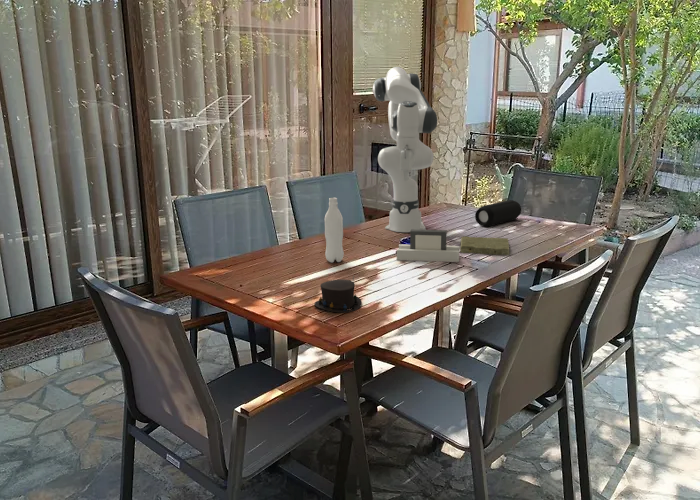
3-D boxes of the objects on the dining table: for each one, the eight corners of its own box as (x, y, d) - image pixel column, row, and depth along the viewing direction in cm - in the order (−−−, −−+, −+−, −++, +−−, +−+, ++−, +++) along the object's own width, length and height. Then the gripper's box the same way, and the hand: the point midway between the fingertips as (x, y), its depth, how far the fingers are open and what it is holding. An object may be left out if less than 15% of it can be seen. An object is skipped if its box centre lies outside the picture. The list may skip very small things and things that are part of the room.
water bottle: (335, 257, 250) (333, 195, 244) (347, 260, 245) (346, 198, 239) (321, 261, 246) (319, 198, 239) (334, 264, 241) (332, 200, 234)
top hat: (336, 318, 188) (335, 285, 185) (304, 305, 198) (303, 274, 195) (371, 305, 197) (371, 274, 195) (339, 294, 208) (339, 264, 205)
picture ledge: (399, 253, 254) (399, 244, 253) (459, 255, 249) (459, 246, 248) (396, 259, 245) (396, 250, 244) (458, 262, 241) (458, 252, 240)
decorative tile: (460, 243, 270) (460, 235, 269) (508, 244, 266) (508, 236, 265) (458, 254, 253) (459, 246, 252) (509, 256, 249) (510, 248, 248)
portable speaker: (505, 217, 316) (506, 198, 313) (522, 220, 308) (523, 200, 306) (473, 225, 300) (473, 205, 297) (489, 229, 292) (490, 208, 290)
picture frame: (410, 253, 250) (411, 229, 247) (446, 254, 247) (446, 230, 245) (410, 255, 247) (410, 231, 244) (445, 256, 244) (446, 232, 242)
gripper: (413, 147, 237) (413, 183, 241) (417, 140, 256) (417, 174, 260) (396, 147, 238) (396, 182, 242) (402, 140, 257) (402, 173, 261)
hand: (407, 178), depth 251 cm, fingers open, 8 cm apart
